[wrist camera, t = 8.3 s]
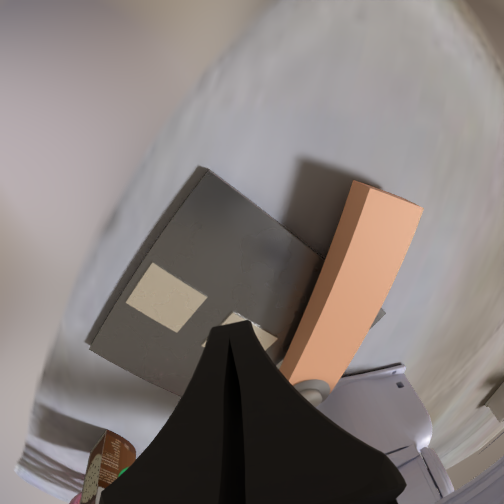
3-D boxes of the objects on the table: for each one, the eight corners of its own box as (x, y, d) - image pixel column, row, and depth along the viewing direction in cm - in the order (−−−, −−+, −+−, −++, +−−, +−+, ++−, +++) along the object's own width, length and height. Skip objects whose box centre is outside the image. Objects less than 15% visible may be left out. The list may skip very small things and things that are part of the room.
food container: (128, 469, 30) (123, 527, 21) (88, 454, 28) (78, 513, 19) (160, 443, 26) (157, 520, 17) (110, 424, 24) (96, 503, 15)
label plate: (209, 169, 15) (208, 171, 15) (383, 310, 21) (388, 315, 20) (91, 344, 19) (88, 351, 19) (254, 418, 25) (255, 425, 25)
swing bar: (313, 388, 23) (323, 415, 20) (269, 387, 22) (275, 416, 19) (403, 198, 16) (432, 212, 14) (351, 179, 16) (377, 191, 13)
